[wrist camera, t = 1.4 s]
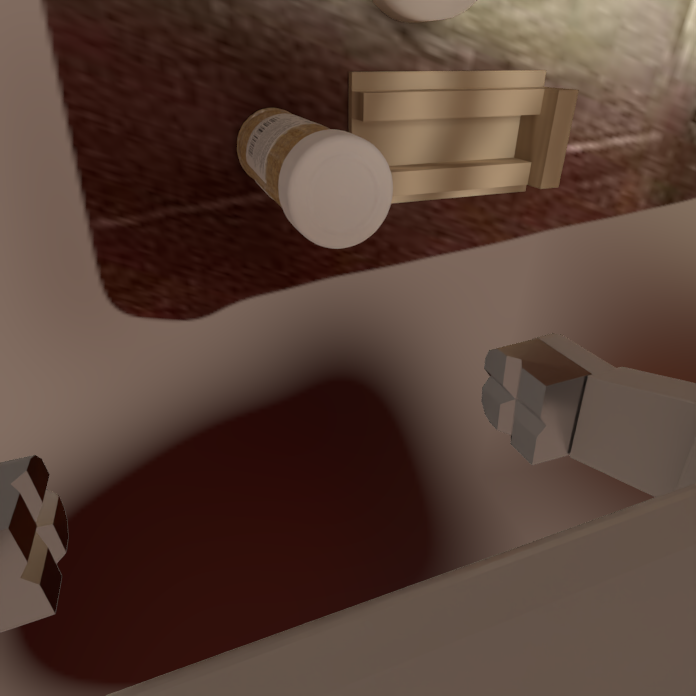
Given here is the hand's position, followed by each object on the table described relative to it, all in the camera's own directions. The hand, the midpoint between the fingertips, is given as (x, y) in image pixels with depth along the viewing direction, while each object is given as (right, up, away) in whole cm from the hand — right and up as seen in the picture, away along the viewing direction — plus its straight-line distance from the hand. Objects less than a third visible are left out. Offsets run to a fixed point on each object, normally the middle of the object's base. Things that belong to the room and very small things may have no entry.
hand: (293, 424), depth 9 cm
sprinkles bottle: (-4, +14, +22) cm, 26 cm away
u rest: (+8, +16, +25) cm, 31 cm away
